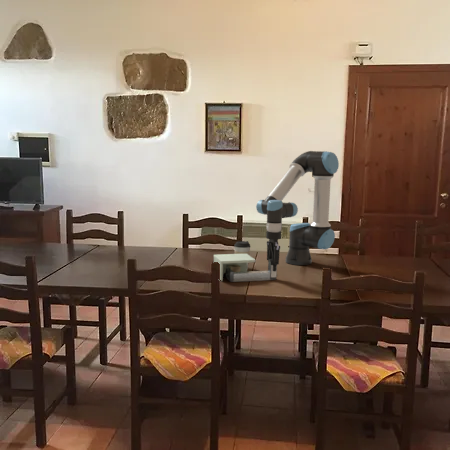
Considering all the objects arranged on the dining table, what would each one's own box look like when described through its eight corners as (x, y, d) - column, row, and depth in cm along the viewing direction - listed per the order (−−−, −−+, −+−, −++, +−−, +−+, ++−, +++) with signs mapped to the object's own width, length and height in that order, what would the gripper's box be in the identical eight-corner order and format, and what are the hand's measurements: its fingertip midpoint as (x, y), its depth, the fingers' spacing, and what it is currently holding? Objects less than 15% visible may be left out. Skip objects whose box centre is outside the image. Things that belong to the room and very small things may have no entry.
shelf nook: (246, 272, 275) (246, 253, 274) (254, 279, 261) (255, 259, 259) (213, 273, 271) (213, 254, 269) (220, 281, 256) (220, 261, 255)
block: (237, 273, 272) (237, 264, 271) (240, 276, 267) (240, 266, 266) (228, 274, 271) (228, 264, 270) (230, 276, 266) (231, 267, 265)
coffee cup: (236, 270, 278) (236, 243, 276) (231, 266, 287) (232, 240, 285) (252, 269, 281) (252, 242, 278) (246, 265, 289) (247, 239, 287)
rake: (270, 275, 270) (271, 256, 268) (276, 279, 261) (277, 260, 260) (225, 277, 264) (225, 258, 262) (230, 281, 255) (230, 262, 253)
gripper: (261, 228, 265) (260, 272, 269) (272, 233, 250) (270, 280, 253) (275, 228, 267) (273, 271, 271) (286, 233, 251) (284, 279, 255)
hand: (272, 275), depth 262 cm, fingers closed on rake, 3 cm apart
